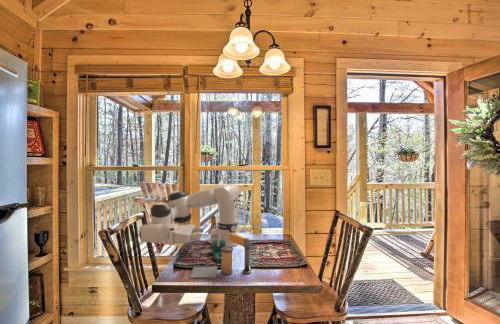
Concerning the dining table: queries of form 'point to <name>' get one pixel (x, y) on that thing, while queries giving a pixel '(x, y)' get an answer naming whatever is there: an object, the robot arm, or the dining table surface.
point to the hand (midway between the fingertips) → (202, 232)
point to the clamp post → (247, 262)
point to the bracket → (217, 250)
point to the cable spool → (226, 261)
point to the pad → (203, 272)
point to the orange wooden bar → (239, 240)
